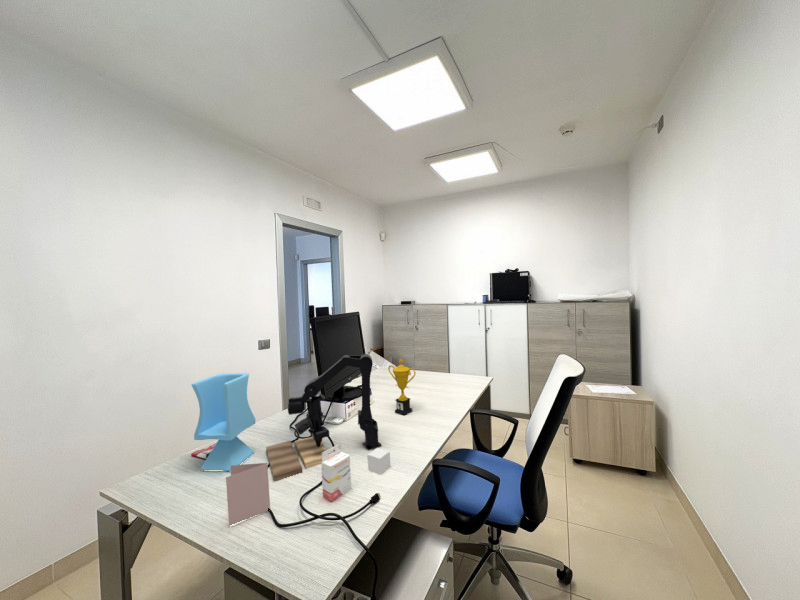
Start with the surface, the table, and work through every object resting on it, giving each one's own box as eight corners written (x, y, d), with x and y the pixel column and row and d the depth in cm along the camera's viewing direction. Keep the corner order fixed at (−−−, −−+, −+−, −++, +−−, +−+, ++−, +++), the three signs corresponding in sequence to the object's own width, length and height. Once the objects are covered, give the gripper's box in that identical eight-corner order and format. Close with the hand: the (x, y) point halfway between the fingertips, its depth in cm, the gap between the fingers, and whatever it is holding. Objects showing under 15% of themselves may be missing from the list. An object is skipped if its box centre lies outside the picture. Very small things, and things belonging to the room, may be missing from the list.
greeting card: (271, 507, 97) (268, 461, 97) (261, 525, 90) (258, 475, 90) (234, 510, 97) (231, 463, 97) (222, 528, 89) (218, 478, 89)
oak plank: (330, 461, 123) (330, 456, 123) (305, 468, 118) (305, 463, 118) (317, 439, 143) (316, 435, 143) (294, 445, 138) (294, 441, 138)
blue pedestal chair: (196, 472, 120) (190, 383, 119) (224, 451, 135) (219, 373, 135) (232, 473, 118) (227, 383, 117) (257, 452, 133) (252, 372, 133)
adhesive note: (368, 470, 116) (367, 454, 115) (378, 462, 120) (377, 447, 120) (380, 475, 112) (379, 458, 112) (390, 466, 117) (389, 451, 117)
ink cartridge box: (332, 502, 98) (329, 457, 98) (322, 496, 101) (320, 452, 101) (352, 488, 105) (349, 446, 105) (342, 483, 108) (340, 442, 108)
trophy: (384, 411, 172) (382, 358, 172) (396, 406, 180) (393, 355, 179) (412, 418, 160) (409, 361, 160) (422, 412, 168) (420, 358, 167)
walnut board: (302, 472, 116) (302, 467, 116) (274, 482, 111) (273, 476, 111) (290, 445, 139) (289, 440, 139) (266, 451, 134) (266, 447, 134)
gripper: (291, 409, 135) (295, 443, 136) (299, 424, 119) (303, 463, 120) (316, 402, 141) (319, 435, 142) (327, 416, 125) (331, 453, 125)
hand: (318, 446), depth 132 cm, fingers closed, pressing on oak plank
